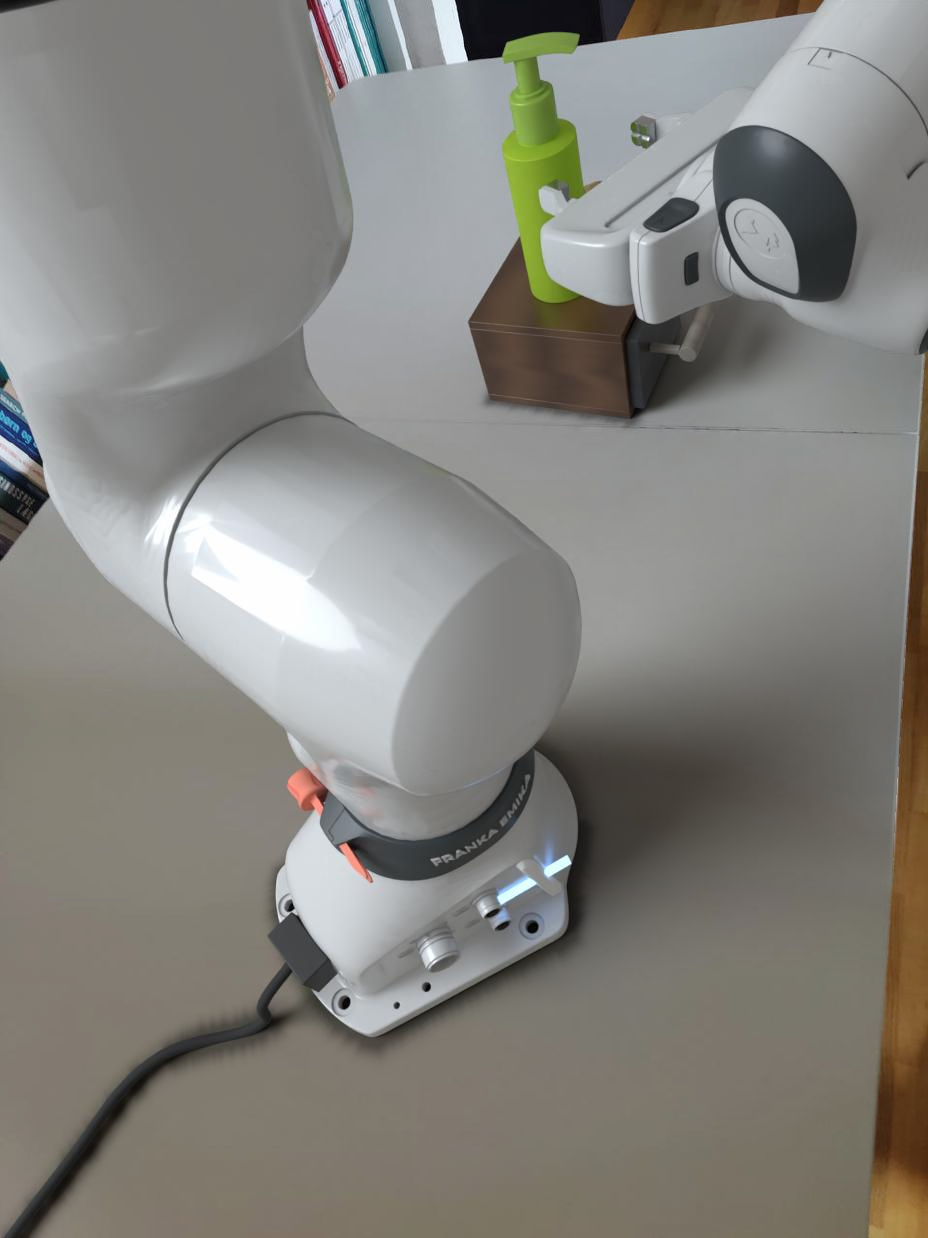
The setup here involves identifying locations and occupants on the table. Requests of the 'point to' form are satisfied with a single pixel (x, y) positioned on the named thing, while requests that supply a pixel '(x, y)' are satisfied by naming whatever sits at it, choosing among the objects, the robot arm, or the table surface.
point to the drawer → (661, 348)
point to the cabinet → (551, 346)
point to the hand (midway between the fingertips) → (592, 159)
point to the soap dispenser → (539, 152)
